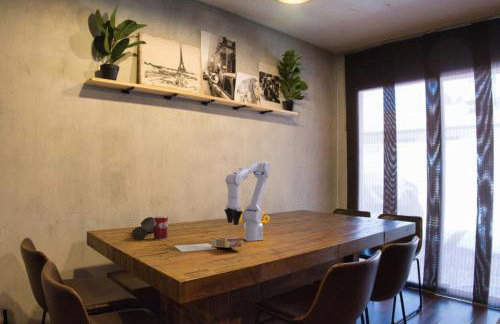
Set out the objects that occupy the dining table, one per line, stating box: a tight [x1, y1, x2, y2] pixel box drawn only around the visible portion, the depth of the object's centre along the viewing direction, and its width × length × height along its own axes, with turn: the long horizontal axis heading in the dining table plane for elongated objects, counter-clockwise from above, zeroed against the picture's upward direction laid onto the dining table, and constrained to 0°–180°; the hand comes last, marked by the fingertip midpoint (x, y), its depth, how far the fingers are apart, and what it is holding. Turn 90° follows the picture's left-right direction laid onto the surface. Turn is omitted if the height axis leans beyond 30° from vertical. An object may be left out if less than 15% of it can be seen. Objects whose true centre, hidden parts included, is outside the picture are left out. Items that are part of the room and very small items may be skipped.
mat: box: [174, 242, 218, 253], centre depth 163 cm, size 17×13×1 cm
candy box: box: [211, 237, 244, 248], centre depth 161 cm, size 9×4×15 cm
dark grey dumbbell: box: [131, 216, 154, 241], centre depth 192 cm, size 11×10×28 cm
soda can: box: [153, 215, 169, 241], centre depth 183 cm, size 7×7×12 cm
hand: (233, 223), depth 173 cm, fingers open, 7 cm apart
